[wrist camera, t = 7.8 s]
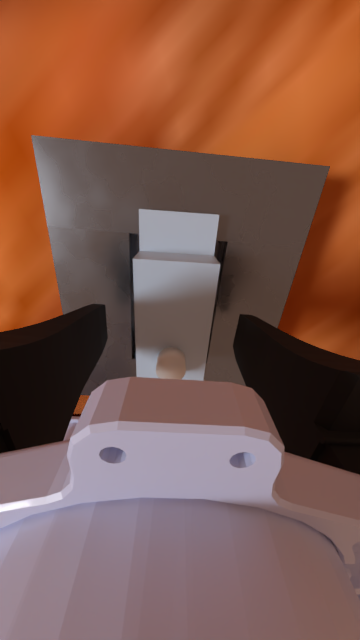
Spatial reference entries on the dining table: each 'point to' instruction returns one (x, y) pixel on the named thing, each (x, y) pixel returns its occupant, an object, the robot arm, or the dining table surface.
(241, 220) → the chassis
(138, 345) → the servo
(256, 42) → the dining table surface
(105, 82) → the dining table surface
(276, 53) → the dining table surface
